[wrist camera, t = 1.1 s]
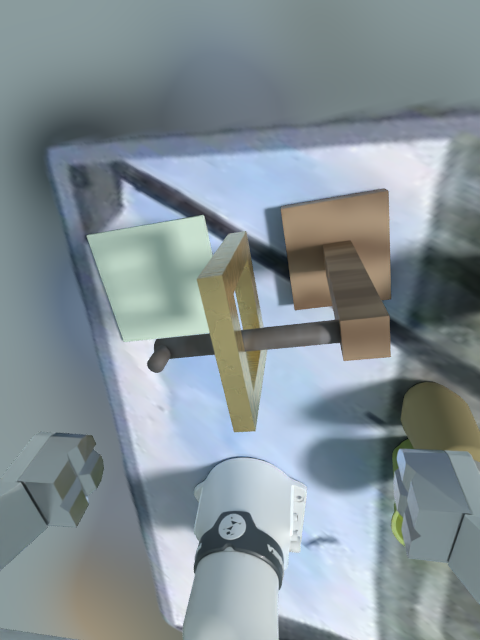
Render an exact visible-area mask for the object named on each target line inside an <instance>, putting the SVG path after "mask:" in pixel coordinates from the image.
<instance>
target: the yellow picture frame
mask: <svg viewBox="0 0 480 640" xmlns="http://www.w3.org/2000/svg"><path fill="white" fill-rule="evenodd" d="M197 283H198V287H199V291H200V295H201V300H202V304H203V308H204V312H205V316H206V320H207V324H208V328H209V332H210V336H211V340H212V344H213V348H214V352H215V357H216V361H217V365H218V369H219V373H220V377H221V381H222V385H223V389H224V393H225V397H226V401H227V405H228V410H229V414H230V418H231V422H232V426H233V430H234V432H248V431H256V424H257V417H258V410H259V403H260V396H261V389H262V382H263V375H264V368H265V361H266V354H267V350H258V351H247V352H245V348H244V343H243V338H242V334H241V329H240V324H239V319H238V314H237V309H236V305H235V300H234V295H233V293H234V291H235V292H236V297H237V302H238V307H239V312H240V316H241V321H242V326H243V330H246V329H256V328H263V322H262V317H261V311H260V305H259V300H258V294H257V289H256V283H255V277H254V272H253V266H252V261H251V255H250V250H249V244H248V238H247V233H246V231H244V232H238V233H231V234H228V236H227V237H226V238H225V240H224V241H223V243H222V244H221V245H220V247H219V248H218V250H217V251H216V252H215V254H214V255H213V257H212V258H211V259H210V261H209V262H208V264H207V265H206V266H205V268H204V269H203V271H202V272H201V273H200V275H199V276H198V278H197Z"/></svg>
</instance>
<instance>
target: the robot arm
mask: <svg viewBox="0 0 480 640" xmlns="http://www.w3.org/2000/svg"><path fill="white" fill-rule="evenodd" d="M95 445H96V442H95V440H94V438H93V436H92V435H83V434H69V433H55V432H39V433H38V434H36V435H34V436H33V438H32V439H31V440H30V441H29V443H28V444H27V445H26V446H25V448H24V449H23V450H22V451H21V453H20V454H19V455H18V456H17V458H16V459H15V460H14V462H13V463H12V464H11V465H10V467H9V468H8V469H7V470H6V472H5V473H4V474H3V475H2V477H1V478H0V571H1V570H2V569H3V568H4V567H5V566H6V565H7V564H8V563H9V562H10V561H12V560H13V559H14V558H15V557H16V556H17V555H18V554H19V553H20V552H21V551H23V549H24V548H26V547H27V546H28V545H29V544H30V543H31V542H32V541H34V540H35V539H36V538H37V537H38V536H39V535H40V534H41V533H42V532H43V531H44V530H46V529H47V528H48V526H63V527H77V526H78V524H79V522H80V520H81V518H82V516H83V514H84V513H85V510H86V509H87V507H88V505H89V502H88V495H90V494H91V493H92V492H94V491H95V490H96V489H97V488H98V486H99V484H100V482H101V479H102V474H103V470H104V465H103V459H102V457H101V455H100V454H99V453H98V452H97V451H95V450H94V447H95ZM397 462H398V466H399V468H398V469H397V470H395V473H394V497H395V503H396V508H397V511H398V512H399V514H400V515H401V516H402V517H403V522H402V528H401V530H402V535H403V539H404V543H405V548H406V552H407V556H408V558H411V559H420V560H428V561H436V562H445V563H448V566H449V567H450V568H451V570H452V571H453V572H454V573H455V575H456V576H457V577H458V578H459V580H460V581H461V582H462V583H463V585H464V586H465V587H466V588H467V590H468V591H469V592H470V593H471V595H472V596H473V597H474V598H475V600H476V601H477V602H478V603H479V605H480V472H479V470H478V468H477V466H476V464H475V462H474V460H473V458H472V455H471V454H470V453H469V452H468V451H446V450H445V451H443V450H427V449H399V451H398V455H397ZM194 496H195V498H196V499H197V501H198V503H199V505H198V510H197V516H196V521H195V526H194V534H195V535H196V537H197V539H198V541H199V545H198V548H197V551H196V555H195V563H194V573H195V577H194V581H193V585H192V590H191V594H190V598H189V602H188V606H187V611H186V615H185V619H184V623H183V640H279V635H278V595H279V590H280V588H281V585H282V580H283V576H284V571H285V570H286V569H287V568H288V560H289V552H295V553H299V552H300V547H301V538H302V530H303V522H304V513H305V505H306V497H307V487H306V486H305V485H304V484H303V483H301V482H298V481H296V480H293V479H291V478H289V477H288V476H287V475H286V474H285V473H283V472H282V471H281V470H280V469H278V468H277V467H275V466H274V465H272V464H270V463H268V462H265V461H262V460H258V459H253V458H234V459H229V460H226V461H223V462H221V463H220V464H218V465H216V466H215V467H214V468H213V469H212V470H211V471H210V473H209V475H208V476H207V478H206V480H205V481H203V482H201V483H200V484H198V485H197V486H196V487H195V489H194ZM0 640H77V639H70V638H64V637H57V636H50V635H43V634H37V633H30V632H23V631H16V630H10V629H3V628H0Z"/></svg>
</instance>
